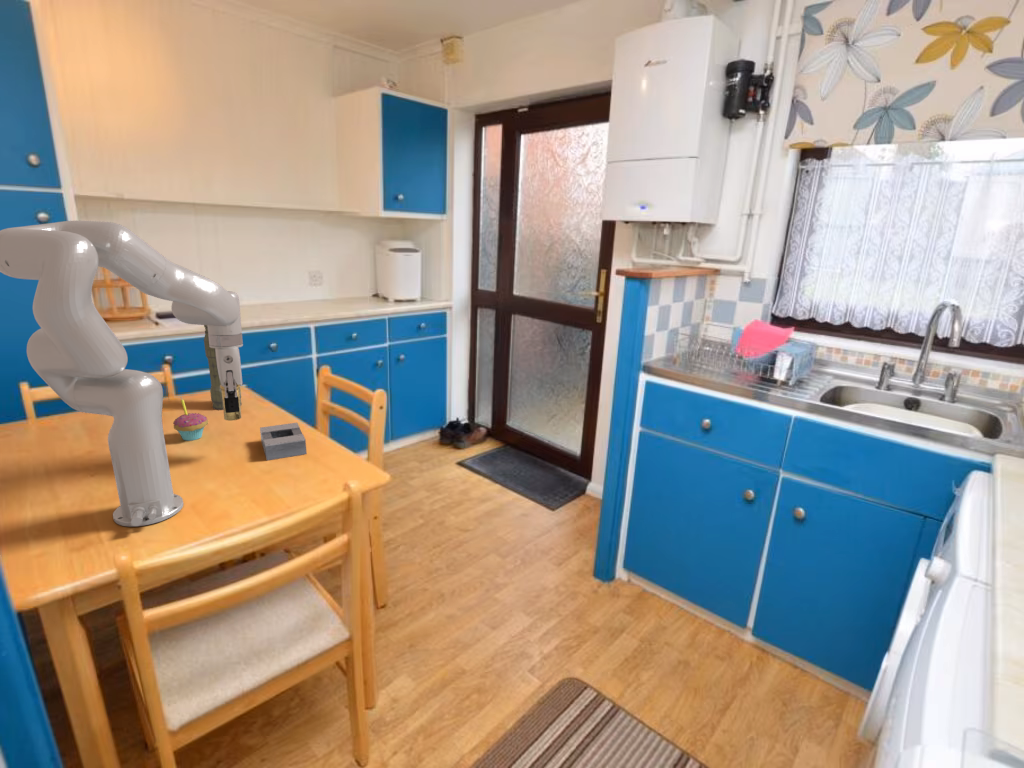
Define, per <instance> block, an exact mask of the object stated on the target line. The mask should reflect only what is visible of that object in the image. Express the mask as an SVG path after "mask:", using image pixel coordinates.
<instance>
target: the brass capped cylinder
mask: <svg viewBox="0 0 1024 768" xmlns="http://www.w3.org/2000/svg"><path fill="white" fill-rule="evenodd" d="M233 385H235V384H234V383H233ZM226 386H228V383H226ZM236 386H237V396H238V399H239V412H232V413H226V411H225V401H224V398H225V389H224V387H223V386H221V385H220V389H221V390H222V399H223V410H222V411H223V420H225V421H237V420H240V419H242V407H241V406H242V405H241V406H240V395H239V388H240V389H241V386H240V384H239V385H237V383H236ZM227 389H228V388H227Z"/></svg>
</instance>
